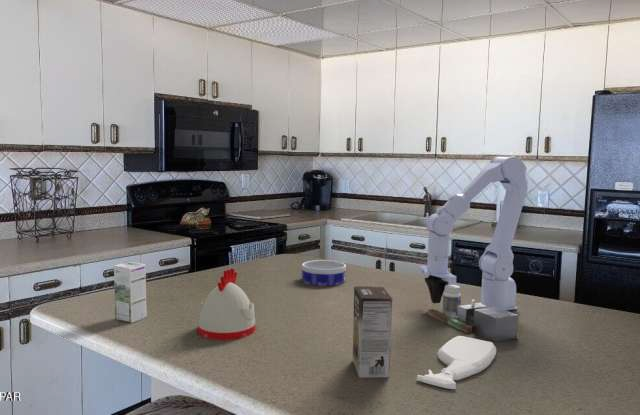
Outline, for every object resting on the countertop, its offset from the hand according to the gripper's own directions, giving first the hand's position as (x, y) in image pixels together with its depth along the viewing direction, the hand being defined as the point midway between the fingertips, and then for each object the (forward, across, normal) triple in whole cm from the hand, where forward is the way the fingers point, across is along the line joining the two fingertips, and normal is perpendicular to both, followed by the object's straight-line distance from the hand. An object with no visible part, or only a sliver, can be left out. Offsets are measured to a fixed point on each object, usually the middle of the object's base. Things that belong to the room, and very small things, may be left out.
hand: (435, 302), depth 149 cm
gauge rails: (+2, +12, 0) cm, 12 cm away
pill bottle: (+2, +7, 0) cm, 7 cm away
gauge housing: (+2, +23, 0) cm, 23 cm away
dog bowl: (+2, -42, -16) cm, 45 cm away
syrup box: (+2, -21, -81) cm, 84 cm away
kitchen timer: (+2, -4, -60) cm, 60 cm away
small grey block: (+2, +17, 0) cm, 18 cm away
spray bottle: (+3, +36, -21) cm, 42 cm away
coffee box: (+2, +30, -39) cm, 49 cm away
